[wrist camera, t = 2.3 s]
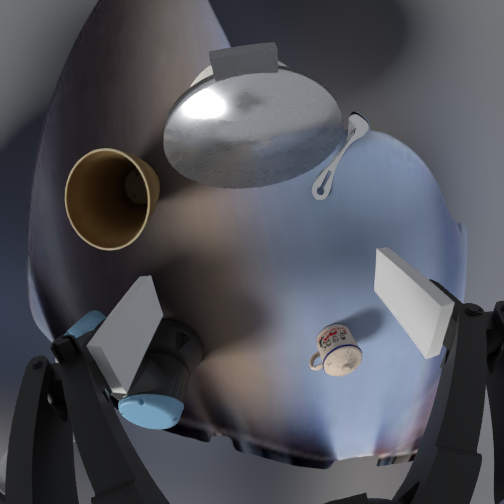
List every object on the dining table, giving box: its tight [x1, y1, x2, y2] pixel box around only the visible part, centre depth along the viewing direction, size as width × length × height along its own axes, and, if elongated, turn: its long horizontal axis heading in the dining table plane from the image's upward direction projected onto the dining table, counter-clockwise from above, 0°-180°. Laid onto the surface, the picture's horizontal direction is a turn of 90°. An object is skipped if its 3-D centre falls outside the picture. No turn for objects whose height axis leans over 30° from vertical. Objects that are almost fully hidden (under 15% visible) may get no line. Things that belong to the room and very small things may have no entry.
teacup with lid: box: [309, 324, 362, 376], centre depth 56 cm, size 12×9×12 cm
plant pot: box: [65, 148, 160, 250], centre depth 41 cm, size 15×15×16 cm
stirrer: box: [312, 111, 371, 200], centre depth 46 cm, size 20×4×5 cm
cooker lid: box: [164, 42, 343, 189], centre depth 26 cm, size 19×21×2 cm
